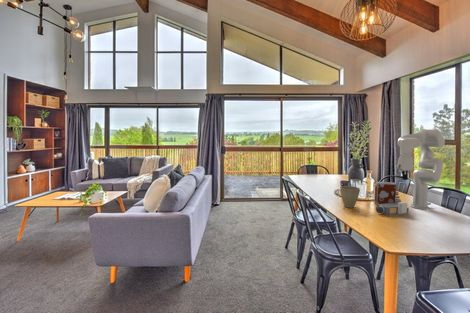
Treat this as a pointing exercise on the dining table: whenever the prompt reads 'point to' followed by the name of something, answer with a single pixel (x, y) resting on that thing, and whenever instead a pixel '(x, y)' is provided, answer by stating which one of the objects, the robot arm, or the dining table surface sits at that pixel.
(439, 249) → the dining table surface
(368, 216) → the dining table surface
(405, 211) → the off-white foam block
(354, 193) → the plant pot
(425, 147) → the robot arm
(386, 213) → the housing
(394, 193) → the dark red boxy piece
